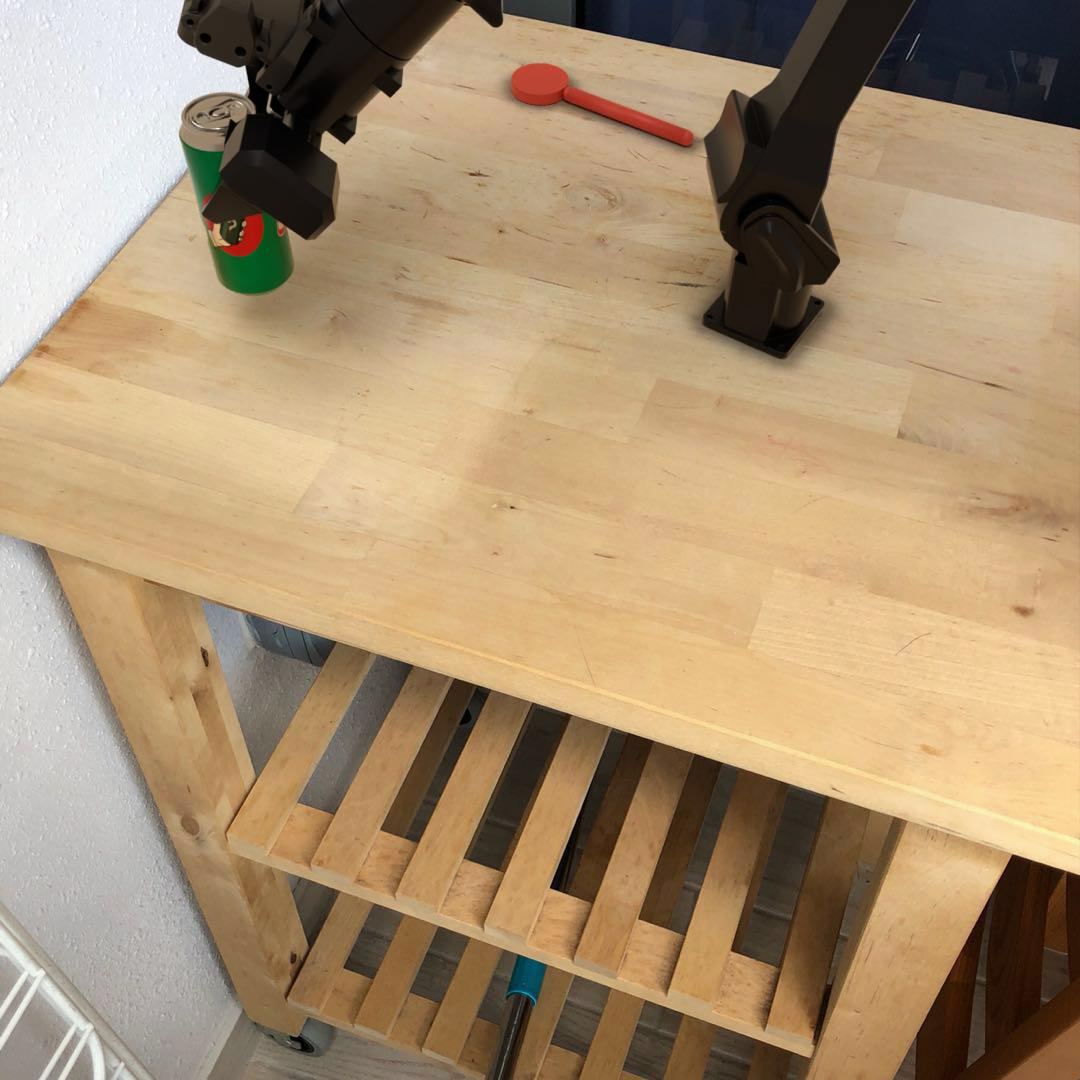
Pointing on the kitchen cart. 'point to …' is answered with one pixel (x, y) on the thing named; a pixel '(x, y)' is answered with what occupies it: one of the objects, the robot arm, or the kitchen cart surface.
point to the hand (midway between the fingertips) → (214, 191)
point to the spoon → (585, 100)
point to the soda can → (244, 244)
